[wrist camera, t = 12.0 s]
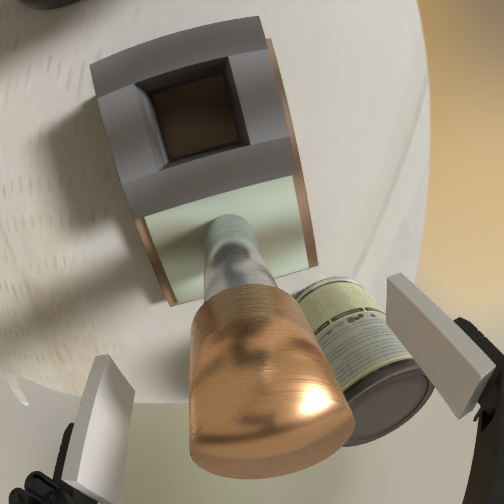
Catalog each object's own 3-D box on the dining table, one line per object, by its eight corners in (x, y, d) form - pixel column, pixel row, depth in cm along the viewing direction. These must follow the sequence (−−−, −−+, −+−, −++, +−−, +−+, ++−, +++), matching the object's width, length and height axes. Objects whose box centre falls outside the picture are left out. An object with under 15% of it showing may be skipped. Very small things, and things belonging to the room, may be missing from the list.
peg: (207, 274, 25) (221, 486, 9) (188, 217, 23) (159, 424, 6) (267, 257, 25) (352, 453, 9) (252, 199, 23) (357, 375, 7)
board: (102, 91, 19) (61, 79, 12) (265, 44, 20) (291, 12, 13) (171, 295, 28) (164, 350, 21) (311, 256, 28) (344, 300, 21)
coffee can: (382, 309, 33) (446, 390, 20) (317, 362, 35) (358, 454, 22) (340, 256, 29) (419, 346, 16) (264, 321, 31) (299, 433, 18)
